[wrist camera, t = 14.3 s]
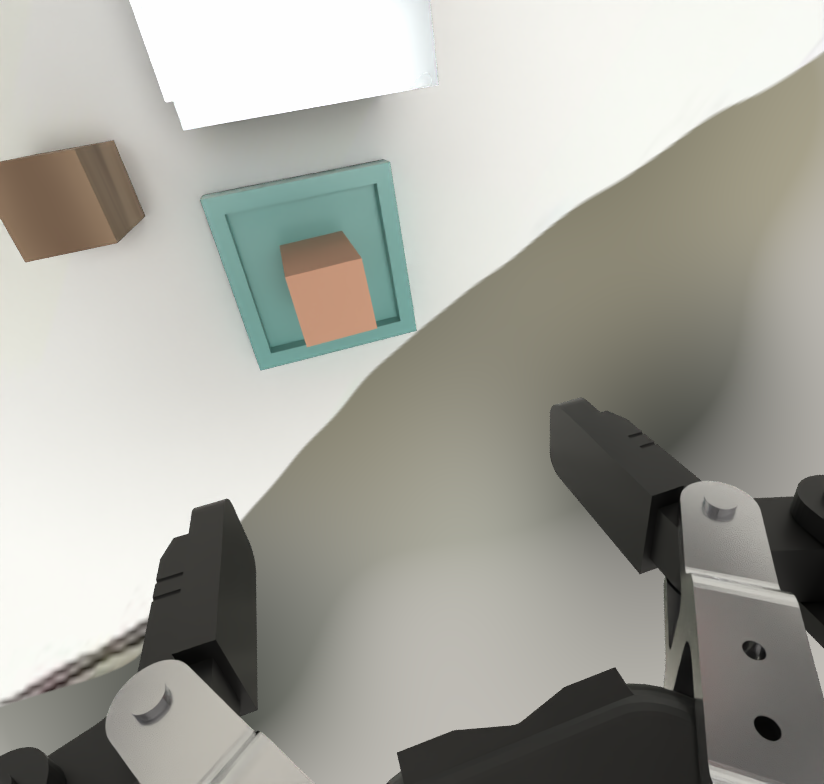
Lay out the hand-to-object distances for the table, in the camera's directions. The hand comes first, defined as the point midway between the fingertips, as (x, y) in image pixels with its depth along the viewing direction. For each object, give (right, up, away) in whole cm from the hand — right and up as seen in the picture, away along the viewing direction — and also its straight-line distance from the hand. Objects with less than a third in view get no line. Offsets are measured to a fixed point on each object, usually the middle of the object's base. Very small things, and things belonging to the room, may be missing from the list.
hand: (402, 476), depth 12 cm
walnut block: (-17, +13, +16) cm, 27 cm away
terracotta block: (-6, +10, +20) cm, 23 cm away
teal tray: (-6, +10, +21) cm, 24 cm away
